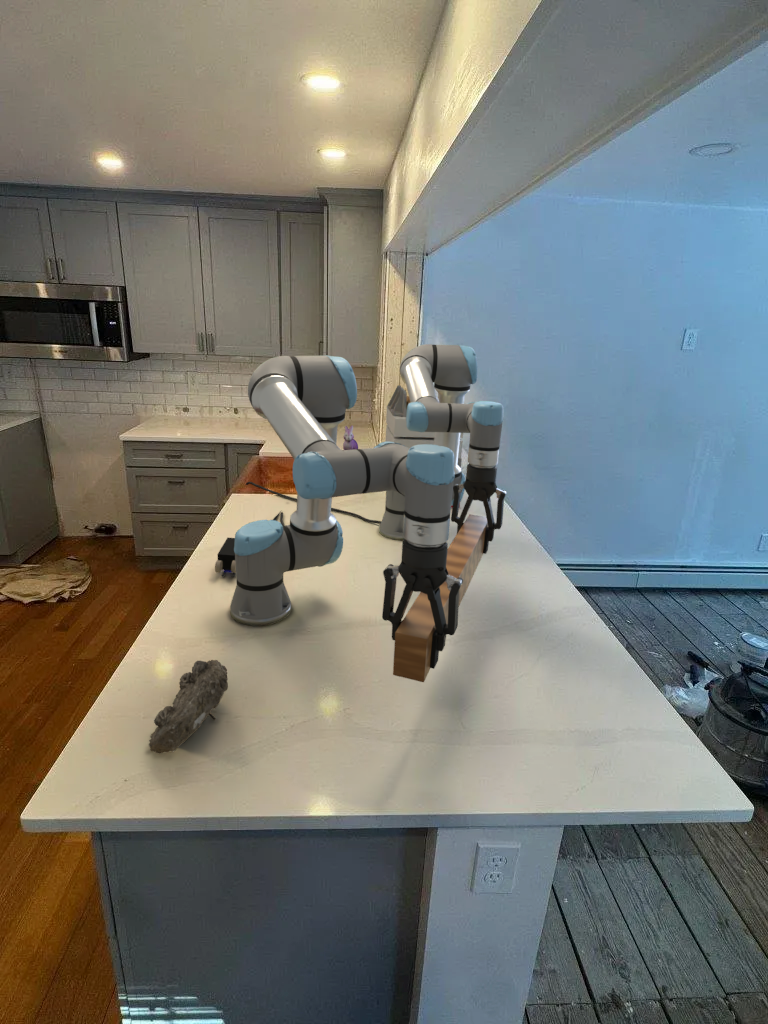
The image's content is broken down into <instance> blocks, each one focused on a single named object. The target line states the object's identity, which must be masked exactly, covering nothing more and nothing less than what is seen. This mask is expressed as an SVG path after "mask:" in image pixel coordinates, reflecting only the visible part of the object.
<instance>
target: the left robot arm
mask: <svg viewBox="0 0 768 1024" xmlns="http://www.w3.org/2000/svg"><path fill="white" fill-rule="evenodd" d="M247 396H248V401H249V403H250V405H251V407H252V409H253V410H254V412H255V413H256V414H257V415H258V416H260V418H263V419H264V420H267V421H268V423H269V425H270V426H271V427H272V429H273V431H274V432H275V434H276V435H277V437H278V438H279V439H280V441H281V442H282V444H283V446H284V447H285V449H286V450H287V451H288V453H289V454H290V456H291V458H292V459H293V463H292V481H293V485H294V486H295V490H296V499H297V501H296V510H294V512H292V513H291V514H290V517H289V524H286V525H285V524H284V512H283V511H280V514H279V516H280V517H279V520H277V519H276V520H273V519H269V520H268V519H260V520H259V519H258V520H255V521H251V522H248V523H246V524H244V525H242V526H241V527H239V529H238V530H237V531H236V532H235V534H234V538H235V545H234V552H235V564H236V573H235V578H236V579H235V580H236V582H235V583H236V585H235V589H234V591H233V595H232V597H231V601H230V606H229V608H230V609H229V611H230V616H231V618H232V619H233V620H235V621H236V622H238V623H239V624H243V625H246V626H256V627H257V626H259V627H260V626H269V625H273V624H276V623H278V622H281V621H283V620H284V619H286V618H287V617H288V616H289V615H290V614H291V612H292V601H291V598H290V595H289V593H288V590H287V588H286V585H285V582H284V573H287V572H293V571H299V570H303V569H309V568H315V567H319V568H321V567H324V566H326V565H331V564H334V563H335V562H337V561H338V560H339V559H340V557H341V554H342V552H343V548H344V537H343V533H344V532H343V528H342V526H341V524H340V522H339V521H338V520H337V517H336V515H334V514H333V513H332V510H331V508H332V504H333V503H332V502H333V498H339V497H347V496H354V495H363V494H371V493H373V494H374V493H381V492H386V491H390V490H394V491H396V492H398V493H400V494H402V495H403V496H405V507H404V525H403V537H404V539H403V540H401V541H402V545H401V560H400V561H401V562H400V563H399V564H398V565H394V564H393V563H389V564H388V565H387V566H386V567H385V568H384V569H383V571H382V575H383V578H384V581H385V585H384V593H383V594H384V595H383V605H382V614H381V618H382V620H383V621H386V622H387V621H388V622H390V623H391V639H392V641H395V632H396V630H397V629H398V627H399V626H400V624H401V622H402V621H403V619H404V615H405V612H406V610H407V608H408V605H409V603H410V600H411V598H412V595H413V593H414V592H415V593H420V592H422V593H424V594H427V597H428V600H429V601H430V605H431V609H432V614H433V618H434V622H435V627H436V630H435V632H434V634H433V635H432V648H431V660H430V669H433V670H435V668H436V666H437V664H438V662H439V657H440V656H439V655H440V654H439V653H440V652H443V650H444V649H445V647H446V641H447V635H449V636H455V633H456V632H457V629H458V627H459V608H460V605H459V590H460V587H461V585H462V583H463V579H462V578H461V577H458V578H457V579H456V578H454V577H452V576H450V575H448V571H447V568H446V561H447V550H448V548H449V544H448V542H447V541H448V540H449V539H450V537H449V536H450V525H451V514H452V508H451V503H452V493H453V483H454V478H455V472H454V453H453V452H452V450H450V449H449V448H447V447H444V446H438V445H432V444H421V445H415V446H412V447H411V448H410V449H409V448H408V447H406V446H405V445H401V444H400V443H394V442H389V441H382V442H380V443H378V444H376V445H375V446H373V447H369V448H368V447H367V448H358V449H354V450H344V449H341V448H340V447H339V445H338V444H337V439H338V429H339V428H338V427H339V425H340V424H341V423H342V422H344V421H345V419H346V411H347V410H350V409H352V408H354V406H356V405H355V404H356V402H357V399H358V398H357V397H358V385H357V380H356V376H355V372H354V369H353V367H352V366H351V363H350V362H349V361H348V360H347V359H346V358H344V357H341V356H335V355H334V356H333V355H327V354H325V355H279V356H274V357H271V358H269V359H267V360H265V361H264V362H262V363H261V364H260V365H258V366H257V367H256V369H255V370H254V371H253V372H252V374H251V376H250V378H249V381H248V385H247ZM399 575H400V576H401V578H402V580H403V581H404V583H405V587H403V588H404V589H403V591H402V595H401V596H400V600H399V602H398V605H397V607H396V609H395V611H394V608H395V599H396V588H397V580H398V579H397V578H398V577H399ZM444 582H446V583H447V588H448V590H449V591H450V593H449V604H448V624H447V623H446V619H445V614H444V610H443V605H442V601H441V596H440V586H441V585H442V584H443V583H444Z"/></svg>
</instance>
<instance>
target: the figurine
mask: <svg viewBox="0 0 768 1024" xmlns="http://www.w3.org/2000/svg"><path fill="white" fill-rule="evenodd" d="M353 431H354V425H353V424H352V425H351V426H350V427H348V425H344V434H343V440H344V441H343V444H342V448H343V449H342V450H354V449H359V444H358V442H357V441H356V440H355V435H354V433H353Z"/></svg>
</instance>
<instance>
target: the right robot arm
mask: <svg viewBox="0 0 768 1024" xmlns="http://www.w3.org/2000/svg"><path fill="white" fill-rule="evenodd" d="M478 367H479V366H478V359H477V354H476V351H475V350H474V348H473V347H471V346H468V345H460V344H432V343H429V344H421V345H420V344H419V345H418V346H415V347H413V348H412V349H411V350H410V351H407V353H405V355H404V356H403V358H402V359H401V362H400V365H399V375H400V379H401V380H402V382H403V383H404V384H405V385H406V386H405V387H406V391H407V394H408V396H409V398H410V402H411V403H409V404H408V406H407V412H406V425H407V428H408V430H410V431H418V432H435V437H434V445H438V446H444V447H447V448H449V449H450V450H452V452H453V453H454V472H455V478H454V483H453V493H452V503H451V506H453V508H451V514H450V522H452V523H455V524H456V525H457V528H456V534H457V533H458V532H459V530H460V529H461V527H462V525H463V524H464V522H465V521H466V517H467V514H468V513H469V511H470V508H471V505H472V504H473V501H479V502H482V504H483V507H484V511H485V517H487V522H488V527H487V529H486V531H485V540H484V550H483V553H484V554H483V555H486V554H487V553H488V551H489V545H490V542H493V539H494V538H495V537H494V536H495V530H501V528H502V526H503V522H504V521H503V519H504V504H505V498H506V496H507V494H508V492H507V490H505V489H503V490H502V489H500V488H498V486H497V483H496V482H497V475H498V467H497V465H498V464H499V458H500V457H499V456H500V446H501V439H502V438H501V437H502V431H503V430H502V429H503V422H504V420H505V419H504V418H505V417H504V405H503V404H502V403H500V402H497V401H490V400H489V401H488V400H479V401H469V402H467V403H465V396H466V395H467V394H468V393H469V392H470V390H471V385H475V384H476V383H477V381H478V380H477V379H478V373H479V371H478V370H479V368H478ZM461 433H463V434H469V443H468V453H467V463H468V464H467V466H466V471H465V473H466V474H464V473H463V472H462V467H461V468H460V467H459V466H458V464H457V463H458V454H459V444H460V439H461V438H460V435H461ZM249 485H252V486H253V487H256V488H258V489H261V490H263V491H266V492H267V493H270V494H273V495H276V496H279V497H282V498H284V499H288V500H291V501H293V502H297V497H296V498H295V497H292V496H289V495H286V494H282V493H280V492H277V491H275V490H272V489H269V488H266V487H264V486H262V485H259V484H256V483H254V482H252V481H247V482H246V483H245V486H249ZM465 492H466V494H467V498H466V501H465V503H464V506H463V508H462V511H461V513H460V515H459V510H460V508H459V504H461V502H462V500H463V497H464V494H465ZM494 494H496V498H497V502H496V503H497V504H496V505H497V506H496V520H495V517H494V513H493V512H494V511H493V507H492V499H491V497H492V496H493V495H494ZM384 505H385V507H384V508H385V509H384V513H383V515H382V519H381V520H375V519H369V518H366V517H364V516H362V515H360V514H357V513H355V512H350V511H348V510H343V509H340V508H339V509H338V508H334V507H331V512H332V511H333V512H336V513H340V514H345V515H350V516H352V517H355V518H358V519H360V520H361V521H364V522H367V523H371V524H379V526H378V533H379V534H380V535H381V536H382V537H385V538H387V539H389V540H395V541H403V539H404V537H403V525H404V507H405V496H403V495H402V494H400V493H398V492H396V491H394V490H390V491H385V504H384Z"/></svg>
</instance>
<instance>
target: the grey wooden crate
mask: <svg viewBox="0 0 768 1024" xmlns="http://www.w3.org/2000/svg"><path fill="white" fill-rule="evenodd" d="M407 394H408V392H407V389H404V388H403V387H402V385H399V384H398V385H397V386H396V388H395V390H394V392H393V394H392V395H391V398H390V400H389V402H388V404H387V405H386V413H385V414H386V415H385V423H386V428H385V438H384V442H386V441H389V442H394V443H400V444H401V445H405V446H406V447H408V448H409V449H410V448H411V447H412V446H415V445H421V444H432V445H434V437H435V432H418V431H410V430H408V428H407V425H406V412H407V406H408V404H409V403H411V402H410V398H409V395H407ZM463 438H464V433H461V435H460V444H459V454H458V463H457V464H458V466H459V467H460V468H461V469H462V461H463V460H462V453H463V442H464V441H463V440H462V439H463Z"/></svg>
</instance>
